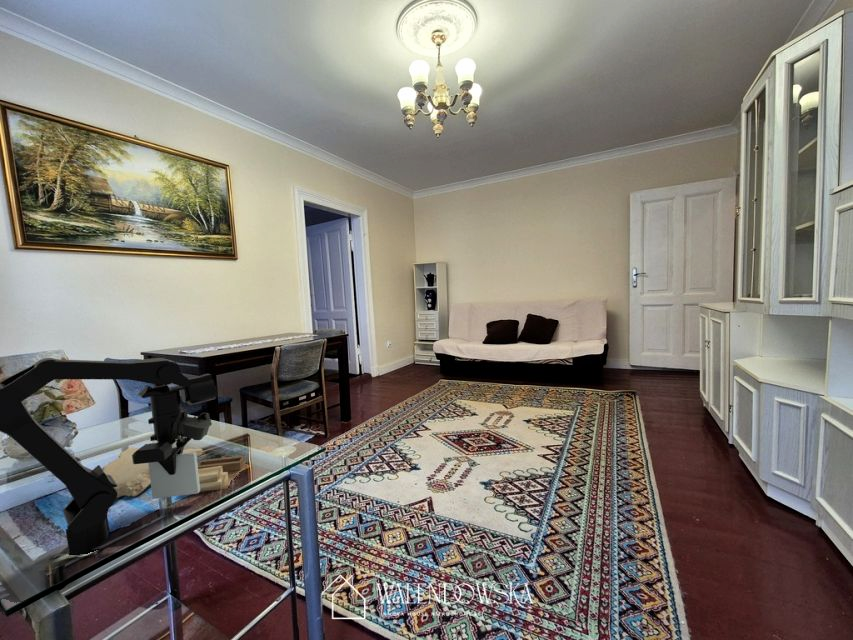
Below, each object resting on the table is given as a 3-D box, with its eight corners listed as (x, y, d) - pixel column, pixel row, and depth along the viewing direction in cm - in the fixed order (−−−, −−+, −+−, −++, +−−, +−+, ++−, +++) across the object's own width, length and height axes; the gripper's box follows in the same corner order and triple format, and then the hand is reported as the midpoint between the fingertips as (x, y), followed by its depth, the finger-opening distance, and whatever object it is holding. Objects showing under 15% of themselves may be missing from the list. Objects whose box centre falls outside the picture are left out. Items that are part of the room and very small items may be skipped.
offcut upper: (217, 481, 93) (216, 473, 92) (188, 485, 91) (187, 478, 91) (222, 472, 97) (222, 465, 97) (194, 476, 95) (194, 469, 95)
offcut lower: (221, 488, 93) (220, 481, 92) (187, 492, 91) (187, 485, 91) (228, 478, 97) (227, 471, 97) (196, 482, 96) (195, 475, 96)
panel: (198, 493, 86) (193, 454, 85) (152, 498, 85) (147, 459, 84) (200, 490, 88) (196, 452, 87) (155, 496, 86) (150, 456, 85)
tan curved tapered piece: (70, 504, 92) (138, 499, 89) (64, 476, 91) (133, 471, 89) (152, 460, 116) (207, 456, 114) (148, 438, 115) (203, 433, 113)
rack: (230, 491, 93) (228, 479, 92) (179, 498, 91) (177, 485, 90) (247, 465, 106) (246, 453, 106) (203, 470, 104) (202, 458, 104)
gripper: (184, 422, 76) (191, 490, 78) (219, 395, 95) (224, 451, 96) (126, 427, 74) (135, 497, 76) (173, 399, 93) (180, 456, 94)
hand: (174, 472), depth 86 cm, fingers closed on panel, 1 cm apart
